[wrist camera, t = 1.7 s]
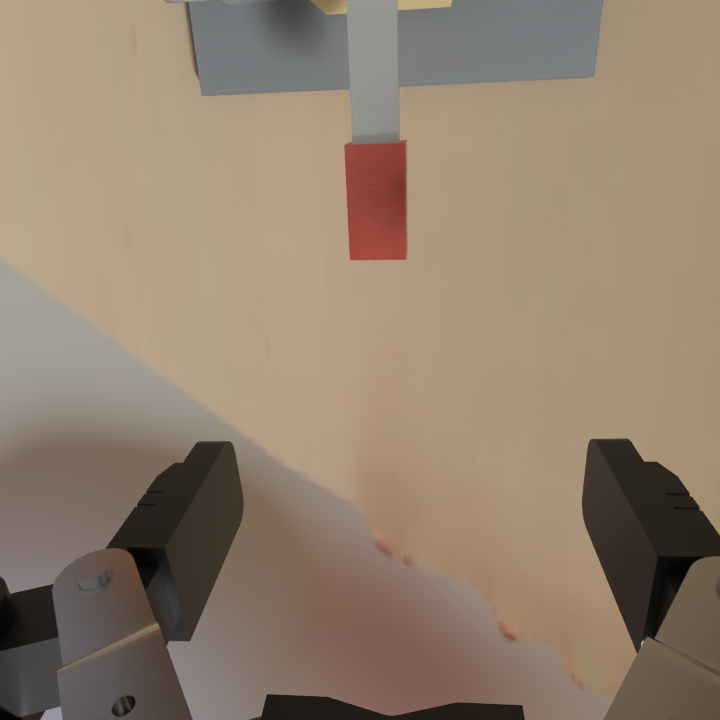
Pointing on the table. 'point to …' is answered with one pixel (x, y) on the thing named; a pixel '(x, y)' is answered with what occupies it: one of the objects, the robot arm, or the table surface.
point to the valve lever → (375, 134)
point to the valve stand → (416, 42)
